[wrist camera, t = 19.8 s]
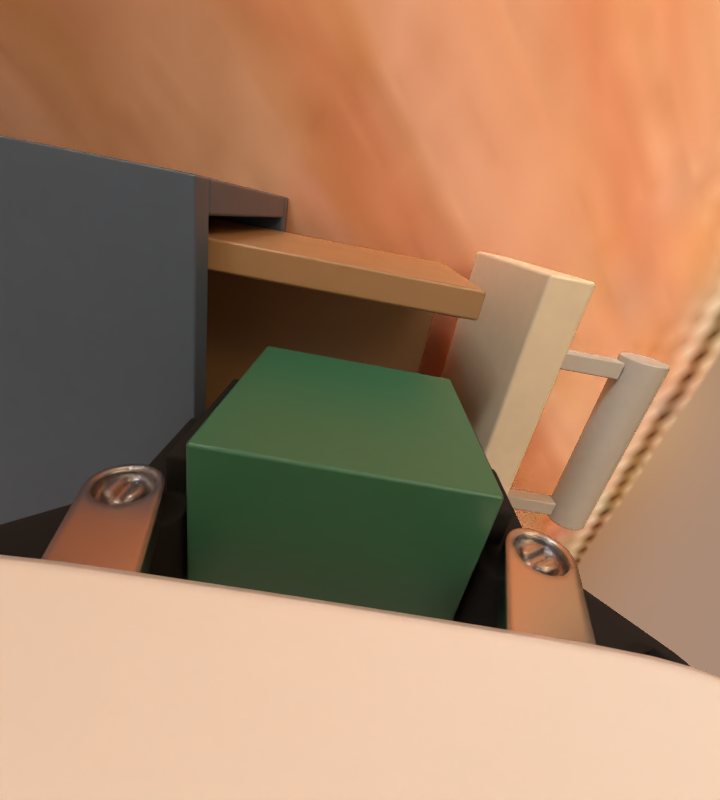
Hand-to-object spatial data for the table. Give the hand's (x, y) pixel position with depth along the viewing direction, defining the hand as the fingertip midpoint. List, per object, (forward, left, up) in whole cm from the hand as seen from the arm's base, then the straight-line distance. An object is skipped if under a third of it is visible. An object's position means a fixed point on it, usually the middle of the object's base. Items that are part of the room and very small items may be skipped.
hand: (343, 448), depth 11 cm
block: (0, 0, 0) cm, 0 cm away
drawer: (0, +1, -8) cm, 8 cm away
